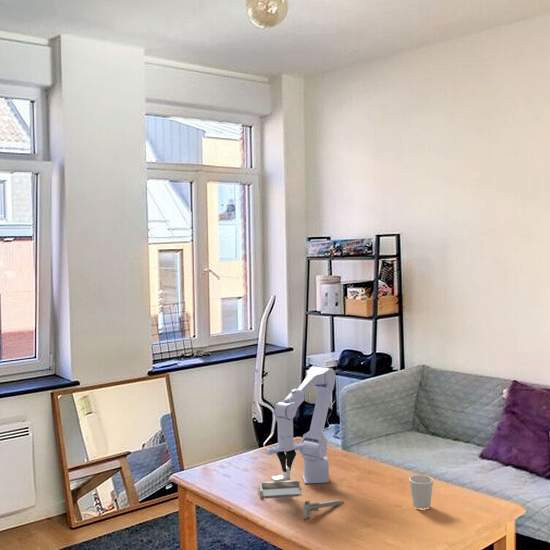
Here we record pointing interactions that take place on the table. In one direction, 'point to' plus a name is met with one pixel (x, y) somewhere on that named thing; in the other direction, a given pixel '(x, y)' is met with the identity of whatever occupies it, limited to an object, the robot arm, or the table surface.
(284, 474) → the bracket
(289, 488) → the board
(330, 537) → the table surface
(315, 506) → the caliper
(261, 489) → the side wall
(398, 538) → the table surface
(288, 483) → the back wall
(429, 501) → the dixie cup
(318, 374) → the robot arm
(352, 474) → the table surface
